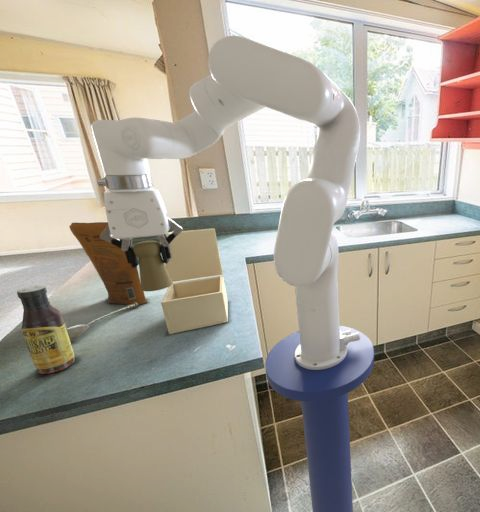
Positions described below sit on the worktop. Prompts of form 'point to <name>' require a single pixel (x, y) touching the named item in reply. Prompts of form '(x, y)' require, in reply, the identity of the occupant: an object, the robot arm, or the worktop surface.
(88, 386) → the worktop surface
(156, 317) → the worktop surface
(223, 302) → the cream open box
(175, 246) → the lid
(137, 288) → the pancake mix bag
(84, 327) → the soupspoon
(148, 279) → the cork
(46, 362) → the sauce bottle
